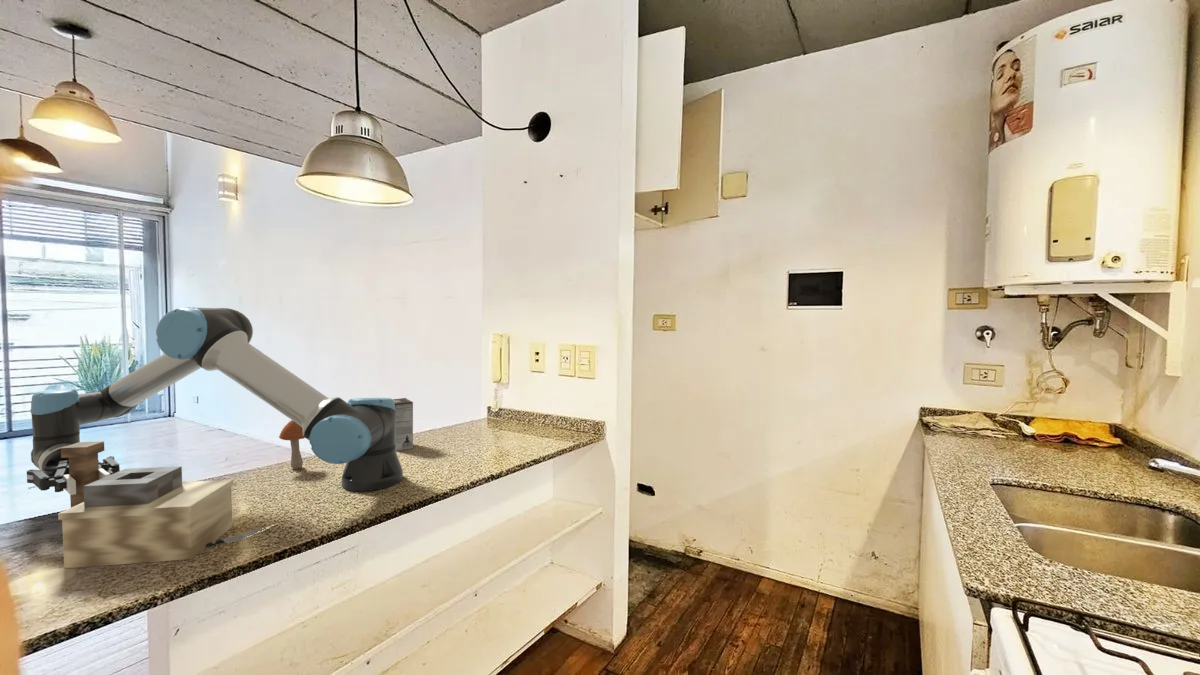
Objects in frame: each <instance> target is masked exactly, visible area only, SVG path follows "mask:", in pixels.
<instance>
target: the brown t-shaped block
mask: <svg viewBox="0 0 1200 675" xmlns="http://www.w3.org/2000/svg"><path fill="white" fill-rule="evenodd" d="M102 452H105V441H104V440H103V441H80V442H79V443H75V444H72V445H69V446H66V447H62V448H61V458H68V457H69V475H70V476H71V477H72V478H73V479H74V480H75V481H76V494H74V495H70V494H69V497H70V499H69V500H70V508H72V507H74V506H76V505H78V504H80V503H83V502H84V488H83V486H85V485H87V484H90V483H92V482H95V481H97V480H99V472H98V470H99V466H98V460H99V453H102Z"/></svg>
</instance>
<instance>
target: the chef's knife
mask: <svg viewBox="0 0 1200 675" xmlns="http://www.w3.org/2000/svg"><path fill="white" fill-rule="evenodd" d="M262 528H264V529H266V528H265V526H262V527H259V528H256V529H252V530H249V531H245V532H242V533H239V534H236V535H232V536H228V537H225V538H222V539H221V538H220V539H216V540H215V541H213V542H210V543H208V544H207V545H206V547H207V548H210V547H214V546H217V545H221V544H226V543H227V544H226V545H231V544H233V543H232V542H234V543H236V542H235V541H237V542H239V541H242V540H244V539H243V538H245V537H247V536H250V535H253V534H255V533H257V532H258V531H262V530H264V529H262ZM260 529H261V530H260ZM253 536H254V535H253ZM241 539H242V540H241ZM245 539H246V538H245ZM238 540H239V541H238ZM230 543H231V544H230ZM216 544H217V545H216ZM213 545H214V546H213ZM206 547H205V549H206Z"/></svg>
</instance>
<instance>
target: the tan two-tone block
mask: <svg viewBox="0 0 1200 675" xmlns="http://www.w3.org/2000/svg"><path fill="white" fill-rule="evenodd" d="M233 486H234V479H217V480H216V479H215V480H198V481H195V480H194V481H183V467H182V466H166V467H165V466H163V467H157V466H156V467H138V468H133V467H132V468H124V469H120V471H119V472H116V473H114V474H112V475H109V476H107V477H104V478H102V479H100V480H97V481H95V482H92V483H90V484H87V485H85V486H83V488H84V502H83V503H80V504H78V505H76V506H74V507H72V508H71V507H70V508H67V509H65V510H63V511H61V512H59V513H57V515H58V516H57V517H58V518H57V519H58V521H61V528H62V548H63V551H62V552H63V568H64V569H74V568H88V567H100V566H101V567H102V566H116V565H129V564H141V563H145V564H146V563H155V562H168V561H169V562H171V561H183V560H186V561H187V560H192V559H193V558H195V557H196V556H197V555H198V554H199V553H201V552H203V550H204V549H206V548H205V547H206V545H207V544H208V543H210V542H213V541H217V540H218V539H219V538H220V537H221V536H223V535H224V534H225V533H226V532H227V530H228V531H229V530H230V529H232V528H233V506H232V505H233V503H232V499H233V498H232V487H233Z"/></svg>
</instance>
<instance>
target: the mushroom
mask: <svg viewBox="0 0 1200 675" xmlns="http://www.w3.org/2000/svg"><path fill="white" fill-rule="evenodd" d="M278 439H280V440H282V441H289V442H290V448H291V449H290V450H291V457H290V466H291V469H292V468H293V469H292V470H299V469H301V468H302V467H303V463H304V462H303V457H302V454H301V450H300V440H302V439H303V440H305V439H306V438H305V437H304V436H303V429H302V427H301V426H300V425H298V424H297V423H296V422H294V421H293V420H291V419H290V420H289V421H288V423H287V424H286V425H284V427H283V428H282V429H281V431H280V433H279V436H278ZM298 468H299V469H298Z"/></svg>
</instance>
